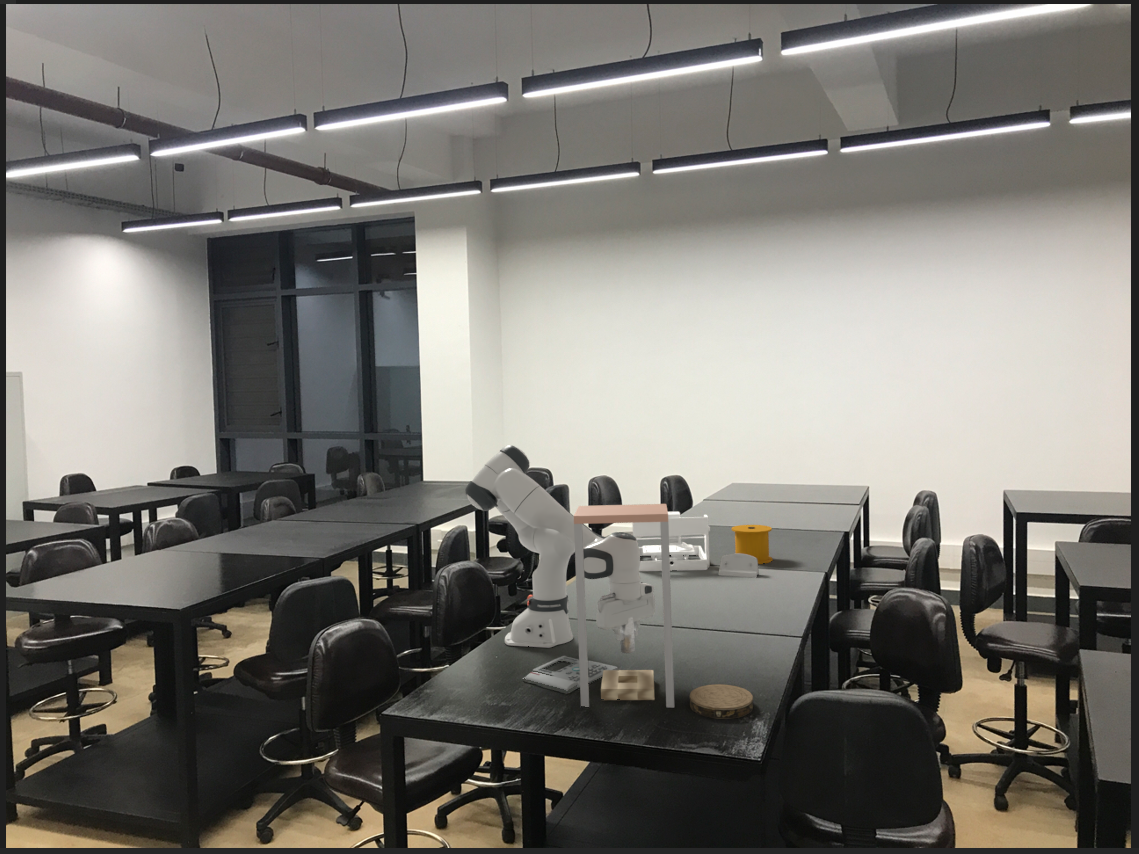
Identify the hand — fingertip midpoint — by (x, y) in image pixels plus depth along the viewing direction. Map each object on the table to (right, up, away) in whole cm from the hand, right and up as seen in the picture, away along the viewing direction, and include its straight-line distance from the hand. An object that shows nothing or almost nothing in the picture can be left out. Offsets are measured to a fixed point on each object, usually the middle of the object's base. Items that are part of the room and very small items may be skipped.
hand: (627, 638), depth 231 cm
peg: (0, -4, 0) cm, 4 cm away
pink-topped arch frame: (-1, -12, -13) cm, 17 cm away
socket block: (0, -12, -9) cm, 15 cm away
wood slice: (+23, -12, -22) cm, 34 cm away
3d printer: (+30, -3, +143) cm, 146 cm away
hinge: (+56, -3, +116) cm, 129 cm away
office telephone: (-17, -12, +4) cm, 22 cm away
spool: (+67, -1, +142) cm, 157 cm away
